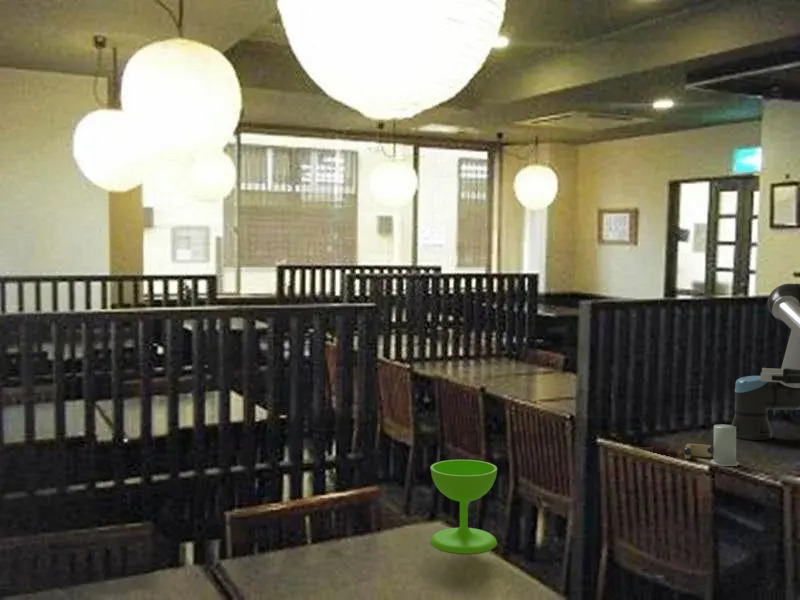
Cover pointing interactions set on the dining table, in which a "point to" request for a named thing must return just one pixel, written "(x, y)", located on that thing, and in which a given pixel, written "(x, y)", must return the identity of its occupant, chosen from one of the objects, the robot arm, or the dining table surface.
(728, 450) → the tall sage cylinder
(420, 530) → the dining table surface
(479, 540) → the wineglass
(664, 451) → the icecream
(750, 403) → the robot arm
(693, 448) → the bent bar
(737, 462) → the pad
